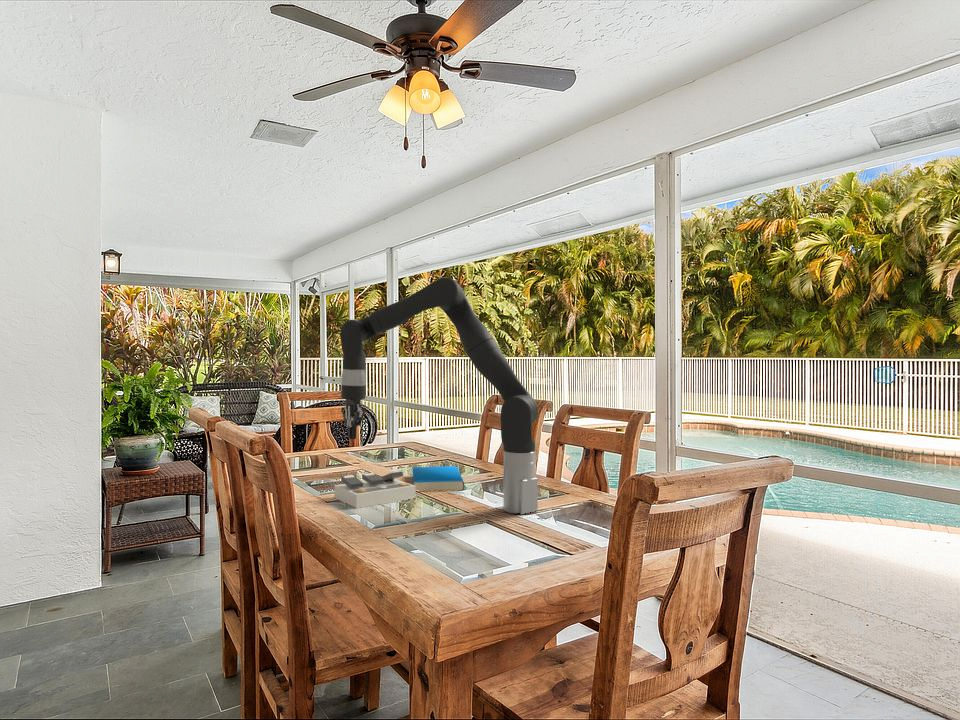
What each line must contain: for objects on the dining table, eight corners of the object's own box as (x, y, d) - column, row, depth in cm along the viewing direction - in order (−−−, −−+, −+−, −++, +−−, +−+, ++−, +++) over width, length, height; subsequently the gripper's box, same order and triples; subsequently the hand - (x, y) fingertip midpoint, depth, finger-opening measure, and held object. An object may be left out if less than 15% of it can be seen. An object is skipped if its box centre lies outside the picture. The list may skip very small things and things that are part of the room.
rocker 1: (362, 487, 182) (363, 482, 182) (350, 488, 180) (351, 484, 180) (353, 479, 188) (353, 474, 188) (341, 480, 185) (341, 476, 185)
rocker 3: (403, 475, 191) (402, 471, 191) (392, 477, 188) (391, 472, 189) (393, 479, 196) (392, 474, 196) (382, 481, 193) (381, 476, 194)
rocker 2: (383, 483, 186) (383, 478, 186) (371, 485, 184) (372, 480, 184) (373, 477, 192) (373, 472, 192) (361, 478, 190) (362, 474, 189)
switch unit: (415, 498, 186) (415, 484, 186) (356, 508, 174) (356, 493, 174) (390, 489, 199) (390, 476, 199) (334, 497, 187) (334, 483, 187)
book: (413, 481, 196) (411, 466, 221) (413, 494, 196) (411, 477, 221) (465, 479, 198) (457, 464, 223) (465, 492, 198) (457, 476, 223)
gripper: (373, 385, 183) (372, 441, 184) (355, 382, 194) (354, 435, 194) (351, 385, 179) (349, 442, 179) (333, 382, 190) (332, 436, 190)
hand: (352, 438), depth 187 cm, fingers closed
